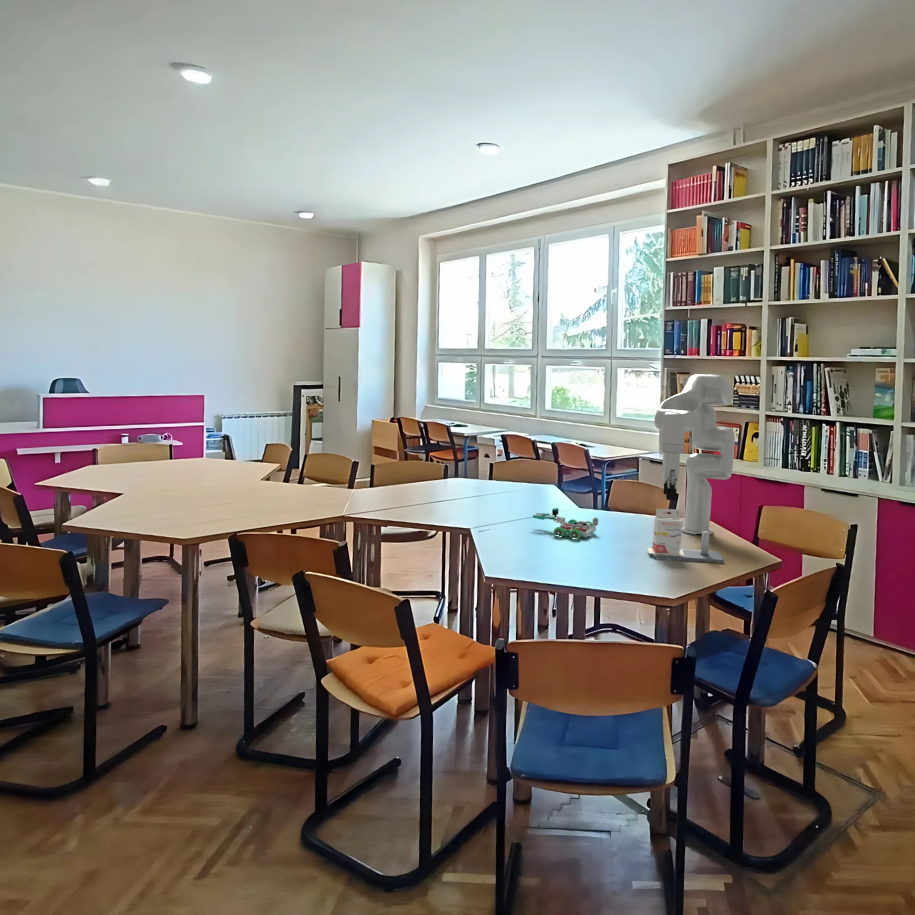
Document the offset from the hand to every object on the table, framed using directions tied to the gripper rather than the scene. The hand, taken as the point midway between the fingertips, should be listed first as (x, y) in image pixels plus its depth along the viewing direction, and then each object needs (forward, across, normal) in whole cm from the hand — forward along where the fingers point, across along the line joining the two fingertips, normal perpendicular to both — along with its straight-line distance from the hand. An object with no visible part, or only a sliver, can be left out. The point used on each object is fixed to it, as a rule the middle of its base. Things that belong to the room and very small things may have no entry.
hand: (669, 497), depth 260 cm
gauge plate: (+21, +1, +7) cm, 22 cm away
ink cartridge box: (+19, +1, 0) cm, 19 cm away
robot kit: (+21, -24, -37) cm, 49 cm away
